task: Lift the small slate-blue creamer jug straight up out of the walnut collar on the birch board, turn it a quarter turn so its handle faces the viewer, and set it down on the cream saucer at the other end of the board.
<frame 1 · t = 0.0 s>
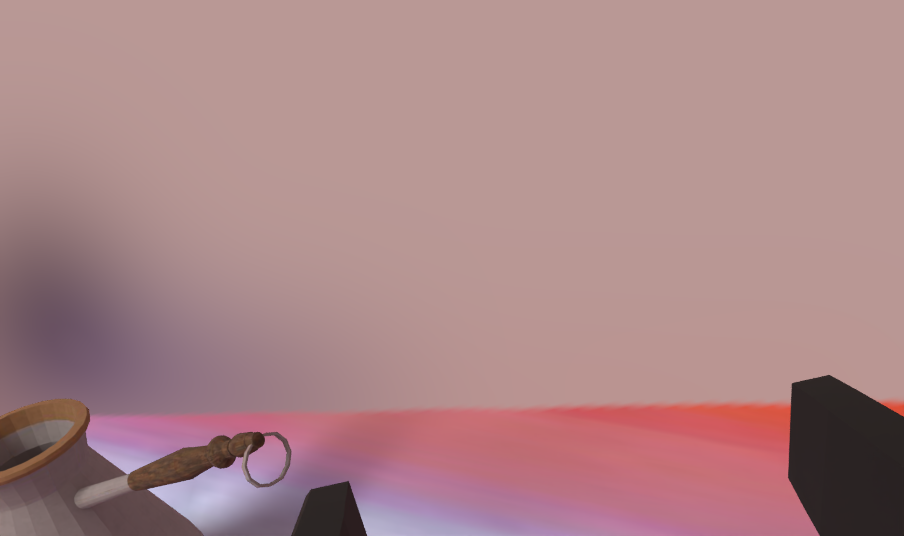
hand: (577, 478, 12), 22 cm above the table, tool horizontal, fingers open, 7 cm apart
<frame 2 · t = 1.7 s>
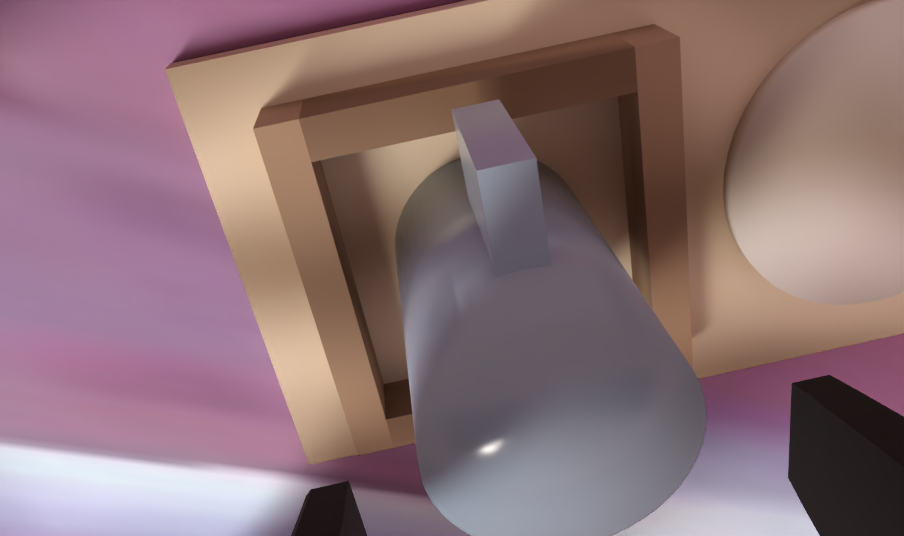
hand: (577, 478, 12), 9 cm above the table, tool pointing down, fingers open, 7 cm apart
creamer: (490, 242, 20), point 1 cm above the table, touching jug board
jug board: (648, 197, 21), on the table
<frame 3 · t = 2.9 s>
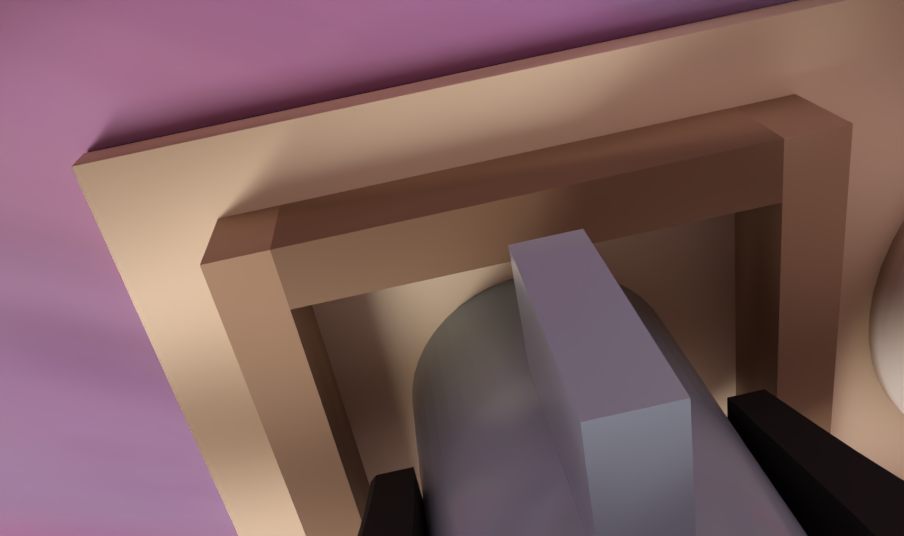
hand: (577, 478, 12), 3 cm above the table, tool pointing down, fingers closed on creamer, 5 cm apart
creamer: (544, 388, 14), point 1 cm above the table, touching gripper, jug board
jug board: (761, 320, 15), on the table
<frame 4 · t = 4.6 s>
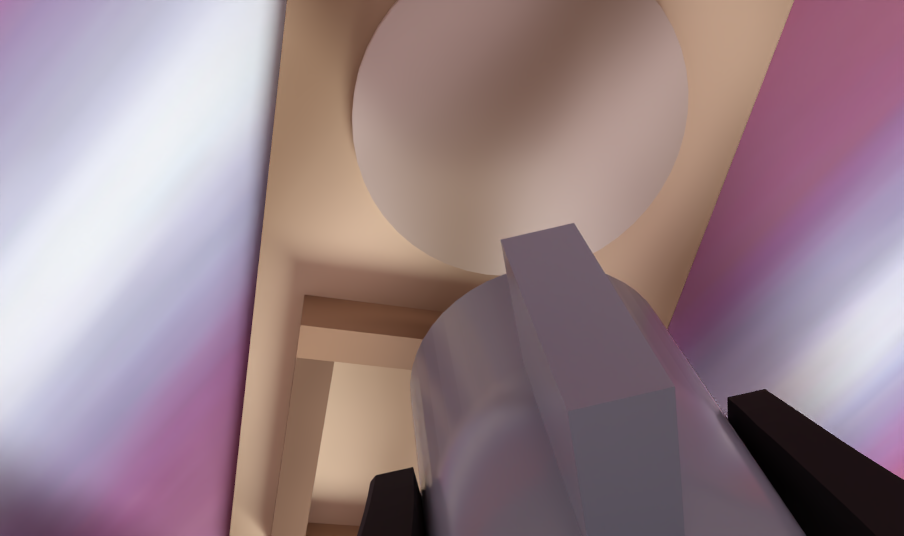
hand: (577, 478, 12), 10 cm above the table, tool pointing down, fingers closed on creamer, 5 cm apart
creamer: (541, 381, 14), point 8 cm above the table, touching gripper
jug board: (466, 310, 22), on the table
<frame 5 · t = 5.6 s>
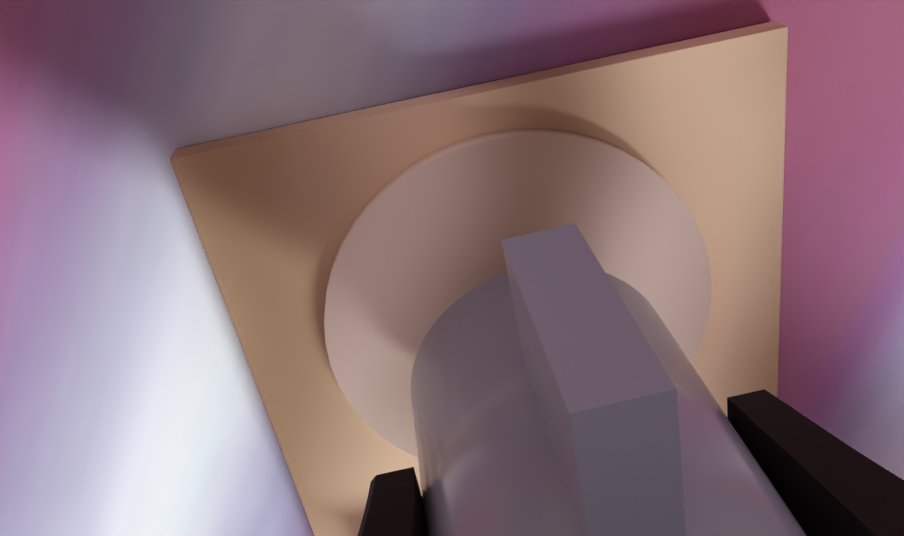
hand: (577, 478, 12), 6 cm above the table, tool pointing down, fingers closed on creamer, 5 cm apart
creamer: (541, 380, 14), point 3 cm above the table, touching gripper
jug board: (545, 489, 20), on the table
when the fingers open (5 cm above the table, at t = 6.3 s): creamer drops 1 cm, resting on jug board.
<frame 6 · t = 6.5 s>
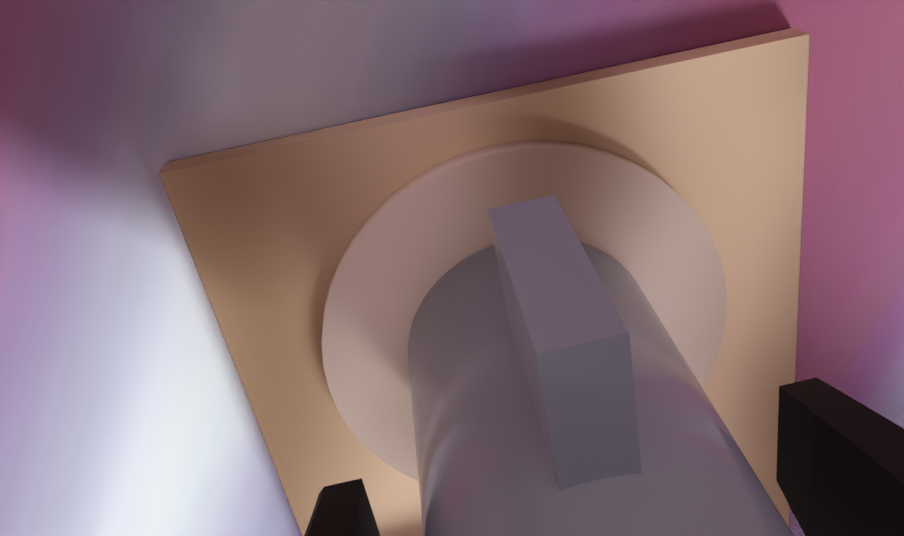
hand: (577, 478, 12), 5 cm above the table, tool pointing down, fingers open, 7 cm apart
creamer: (529, 345, 16), point 1 cm above the table, touching jug board
jug board: (551, 511, 19), on the table
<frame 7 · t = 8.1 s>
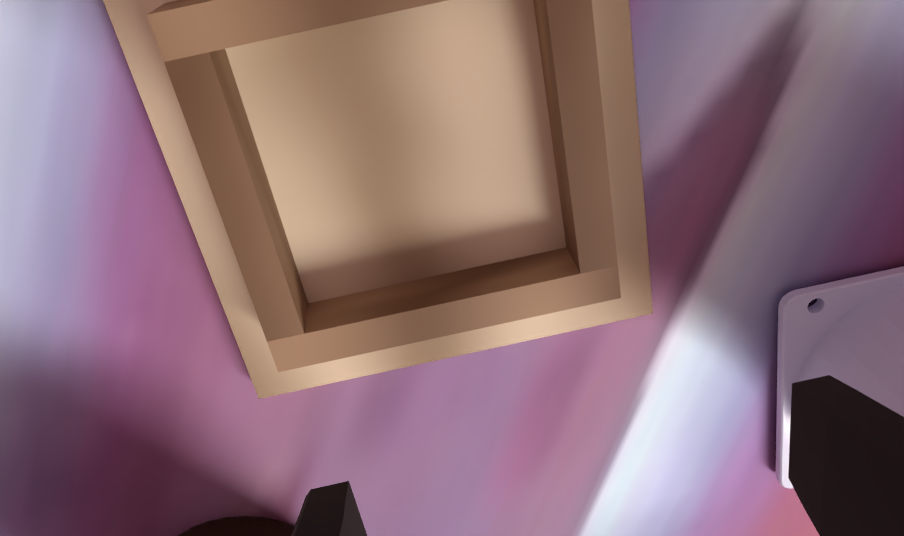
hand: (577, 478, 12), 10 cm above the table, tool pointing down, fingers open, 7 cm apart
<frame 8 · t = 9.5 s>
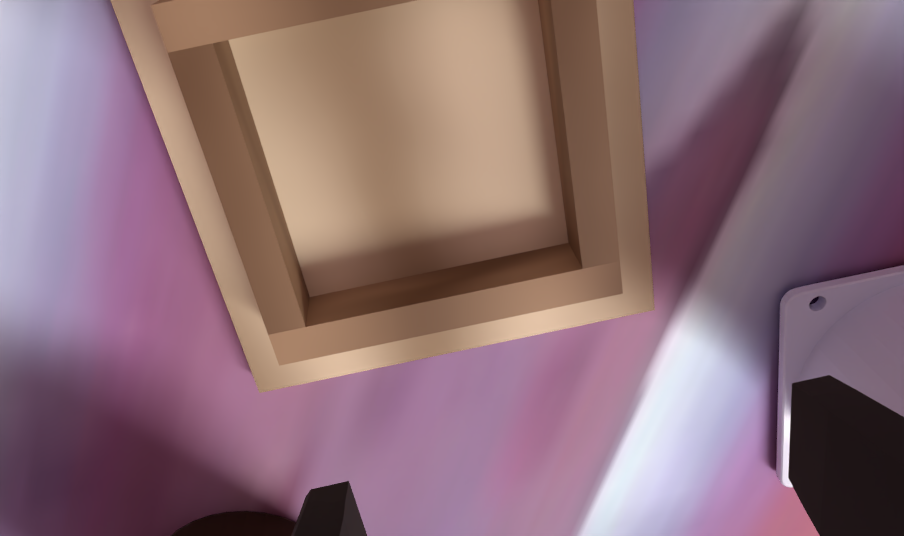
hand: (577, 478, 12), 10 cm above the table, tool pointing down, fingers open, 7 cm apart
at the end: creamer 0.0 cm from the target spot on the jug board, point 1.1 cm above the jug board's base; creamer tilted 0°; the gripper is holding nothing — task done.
